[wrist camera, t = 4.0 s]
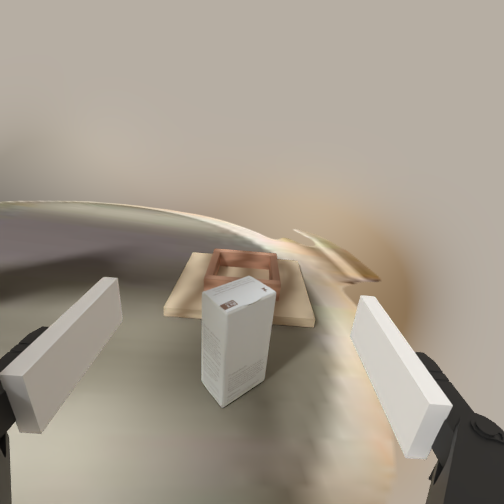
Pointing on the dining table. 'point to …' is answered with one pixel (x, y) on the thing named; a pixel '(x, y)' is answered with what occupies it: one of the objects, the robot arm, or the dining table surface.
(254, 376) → the skincare box
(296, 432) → the dining table surface
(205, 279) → the holder
